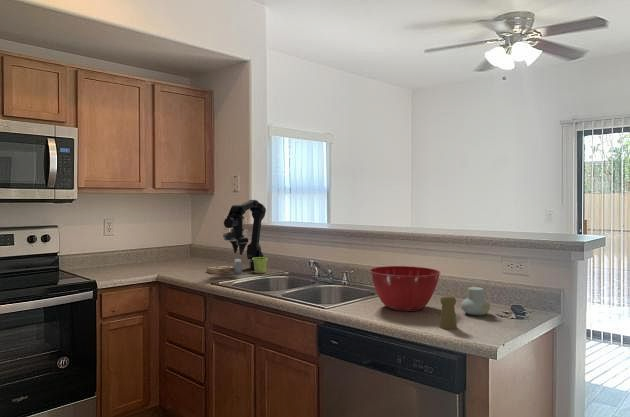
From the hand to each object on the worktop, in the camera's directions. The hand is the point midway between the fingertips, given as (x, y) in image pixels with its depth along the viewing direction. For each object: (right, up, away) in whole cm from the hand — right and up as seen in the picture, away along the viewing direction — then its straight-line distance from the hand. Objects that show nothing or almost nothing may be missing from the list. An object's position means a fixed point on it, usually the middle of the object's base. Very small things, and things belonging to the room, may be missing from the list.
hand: (237, 253), depth 283 cm
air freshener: (+107, -15, -93) cm, 142 cm away
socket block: (-11, -12, +6) cm, 17 cm away
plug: (0, -11, 0) cm, 11 cm away
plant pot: (+12, -12, +5) cm, 18 cm away
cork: (+91, -15, -112) cm, 145 cm away
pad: (0, -12, 0) cm, 12 cm away
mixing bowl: (+81, -15, -82) cm, 116 cm away
